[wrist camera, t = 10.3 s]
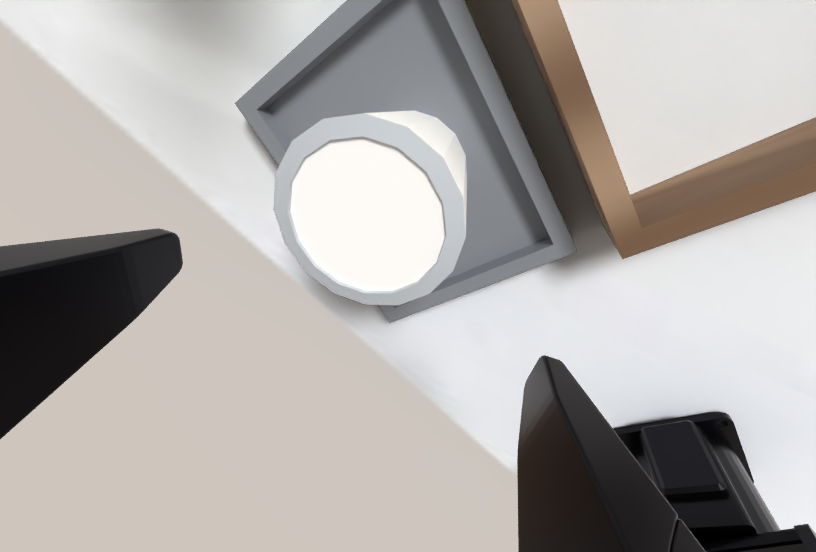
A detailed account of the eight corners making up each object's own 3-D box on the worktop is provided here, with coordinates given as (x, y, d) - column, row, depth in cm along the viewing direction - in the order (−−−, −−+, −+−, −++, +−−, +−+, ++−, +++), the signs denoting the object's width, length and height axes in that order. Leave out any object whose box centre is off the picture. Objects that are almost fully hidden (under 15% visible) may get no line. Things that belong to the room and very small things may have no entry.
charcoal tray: (572, 239, 18) (577, 251, 17) (396, 308, 23) (389, 322, 22) (436, -63, 14) (429, -76, 13) (253, 100, 19) (234, 103, 18)
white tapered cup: (348, 226, 21) (283, 291, 15) (343, 89, 17) (256, 103, 11) (469, 244, 19) (452, 323, 13) (492, 101, 16) (482, 124, 10)
